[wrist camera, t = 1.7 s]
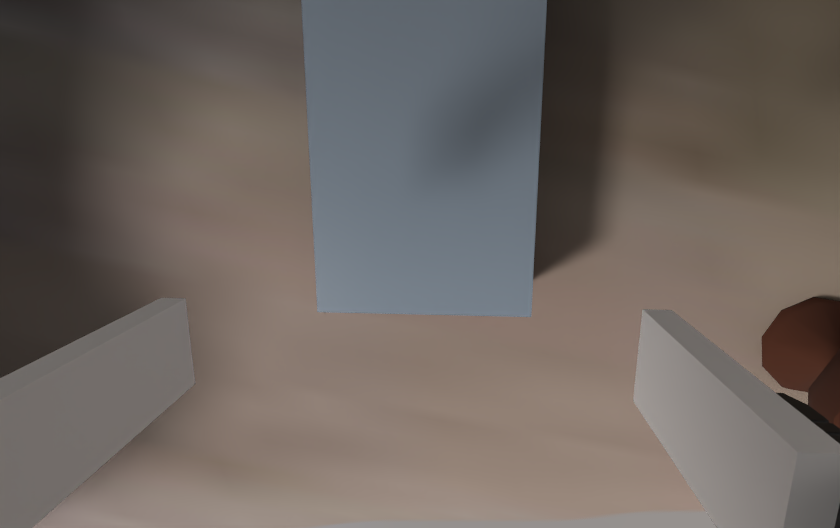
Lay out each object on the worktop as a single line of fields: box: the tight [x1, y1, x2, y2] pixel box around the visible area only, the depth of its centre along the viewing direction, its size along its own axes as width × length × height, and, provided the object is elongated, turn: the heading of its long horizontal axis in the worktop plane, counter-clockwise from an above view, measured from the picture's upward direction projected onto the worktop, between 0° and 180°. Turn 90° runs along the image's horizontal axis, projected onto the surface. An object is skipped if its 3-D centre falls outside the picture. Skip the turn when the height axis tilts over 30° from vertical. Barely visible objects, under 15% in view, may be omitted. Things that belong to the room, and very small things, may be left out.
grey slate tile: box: [301, 0, 547, 317], centre depth 24 cm, size 10×18×5 cm, turn 0°
